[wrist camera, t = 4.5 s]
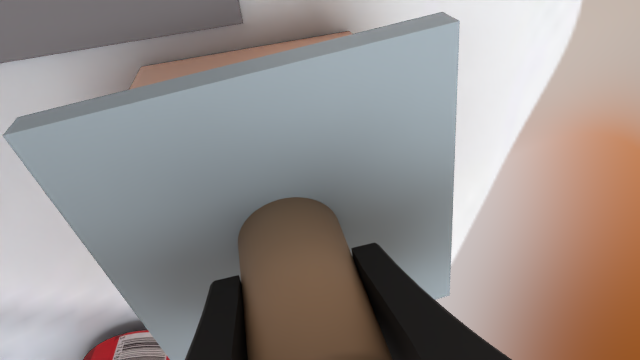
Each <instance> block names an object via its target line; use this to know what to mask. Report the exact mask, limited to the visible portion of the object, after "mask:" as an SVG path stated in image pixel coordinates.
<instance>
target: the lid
mask: <svg viewBox="0 0 640 360" xmlns="http://www.w3.org/2000/svg"><path fill="white" fill-rule="evenodd" d="M458 49H459V21H458V20H457V19H455V18H453V17H451V16H449V15H447V14H445V13H444V12H440V13H436V14H432V15H428V16H424V17H420V18H416V19H412V20H408V21H404V22H400V23H396V24H392V25H388V26H384V27H379V28H375V29H371V30H367V31H363V32H359V33H355V34H351V35H347V36H343V37H339V38H335V39H331V40H327V41H323V42H319V43H315V44H311V45H307V46H303V47H299V48H295V49H291V50H287V51H283V52H279V53H275V54H271V55H267V56H263V57H259V58H255V59H251V60H247V61H243V62H238V63H234V64H230V65H226V66H222V67H218V68H214V69H210V70H206V71H202V72H198V73H194V74H190V75H186V76H182V77H178V78H174V79H170V80H166V81H162V82H158V83H154V84H150V85H146V86H142V87H138V88H134V89H130V90H126V91H122V92H118V93H114V94H110V95H106V96H102V97H97V98H93V99H89V100H85V101H81V102H77V103H73V104H69V105H65V106H61V107H57V108H53V109H49V110H45V111H41V112H37V113H33V114H29V115H25V116H21V117H18V118H17V119H16V120H15V121H14V122H13V124H12V125H11V126H10V127H9V129H8V130H7V131H6V132H5V133H4V135H3V137H4V138H5V139H6V141H7V142H8V143H9V145H10V146H11V147H12V149H13V150H14V151H15V153H16V154H17V155H18V157H19V158H20V159H21V161H22V162H23V163H24V165H25V166H26V168H27V169H28V170H29V172H30V173H31V174H32V176H33V177H34V178H35V180H36V181H37V182H38V184H39V185H40V186H41V188H42V189H43V190H44V192H45V193H46V194H47V196H48V197H49V198H50V200H51V201H52V202H53V204H54V205H55V206H56V208H57V209H58V210H59V212H60V213H61V214H62V216H63V217H64V218H65V220H66V221H67V222H68V224H69V225H70V226H71V228H72V229H73V230H74V232H75V233H76V234H77V236H78V237H79V239H80V240H81V241H82V243H83V244H84V245H85V247H86V248H87V249H88V251H89V252H90V253H91V255H92V256H93V257H94V259H95V260H96V261H97V263H98V264H99V265H100V267H101V268H102V269H103V271H104V272H105V273H106V275H107V276H108V277H109V279H110V280H111V281H112V283H113V284H114V285H115V287H116V288H117V289H118V291H119V292H120V293H121V295H122V296H123V297H124V299H125V300H126V301H127V303H128V304H129V305H130V307H131V308H132V310H133V311H134V312H135V314H136V315H137V316H138V318H139V319H140V320H141V322H142V323H143V324H144V326H145V327H146V328H147V330H148V331H149V332H150V334H151V335H152V336H153V338H154V339H155V340H156V342H157V343H158V344H159V346H160V347H161V348H162V350H163V351H164V352H165V354H166V355H167V356H168V358H169V359H170V360H185V358H186V355H187V353H188V350H189V348H190V345H191V343H192V340H193V337H194V335H195V332H196V329H197V326H198V324H199V321H200V318H201V315H202V312H203V309H204V305H205V302H206V299H207V295H208V292H209V288H210V285H211V284H212V282H213V281H216V280H220V279H224V278H228V277H232V276H236V275H239V277H240V281H241V286H242V298H243V309H244V321H245V333H246V345H247V356H248V360H393V359H392V357H391V354H390V352H389V349H388V347H387V344H386V342H385V339H384V336H383V334H382V331H381V329H380V326H379V324H378V321H377V319H376V316H375V313H374V311H373V308H372V306H371V303H370V301H369V298H368V295H367V293H366V290H365V288H364V285H363V283H362V280H361V278H360V275H359V272H358V270H357V267H356V265H355V262H354V260H353V257H352V249H351V248H354V247H358V246H362V245H366V244H370V243H374V242H375V243H377V244H378V245H380V247H381V248H382V249H383V250H384V251H385V252H386V253H387V254H388V255H389V256H390V257H391V258H392V260H393V261H394V262H395V263H396V264H397V265H398V266H399V267H400V268H401V269H402V270H403V271H404V272H405V273H406V274H407V275H408V276H409V277H410V278H411V279H413V280H414V281H415V282H416V283H417V284H418V285H419V286H420V287H421V288H422V289H423V290H424V291H426V292H427V293H428V294H429V295H430V296H431V297H432V298H433V299H434V300H436V299H439V298H442V297H445V296H449V295H450V269H451V241H452V214H453V186H454V159H455V131H456V104H457V76H458Z"/></svg>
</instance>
